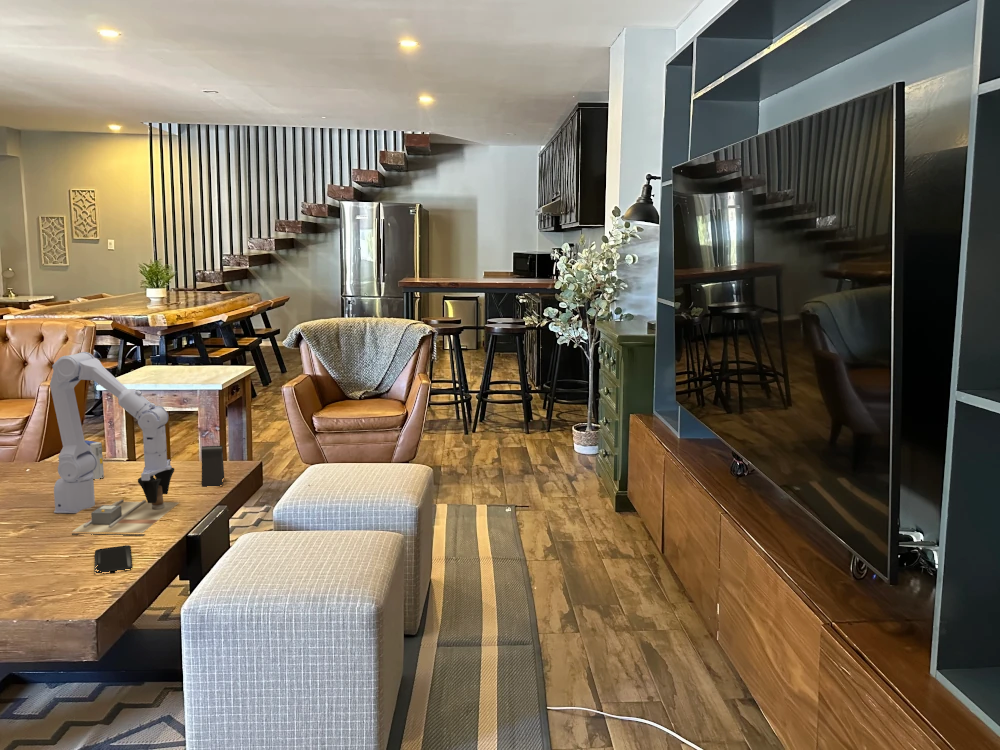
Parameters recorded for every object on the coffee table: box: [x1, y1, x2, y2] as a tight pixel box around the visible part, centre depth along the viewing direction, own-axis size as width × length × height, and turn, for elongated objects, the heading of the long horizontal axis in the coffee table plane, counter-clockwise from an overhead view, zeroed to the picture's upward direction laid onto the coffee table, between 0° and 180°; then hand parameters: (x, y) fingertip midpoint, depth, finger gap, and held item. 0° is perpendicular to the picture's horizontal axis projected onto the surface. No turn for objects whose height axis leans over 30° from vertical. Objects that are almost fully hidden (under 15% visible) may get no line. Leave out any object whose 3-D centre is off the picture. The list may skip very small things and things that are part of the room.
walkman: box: [84, 439, 105, 480], centre depth 244 cm, size 8×3×12 cm, turn 68°
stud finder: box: [90, 505, 122, 524], centre depth 204 cm, size 5×6×4 cm
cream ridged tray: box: [71, 499, 180, 537], centre depth 208 cm, size 18×24×2 cm
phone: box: [93, 544, 133, 573], centre depth 181 cm, size 8×1×15 cm
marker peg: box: [151, 486, 165, 510], centre depth 215 cm, size 3×3×6 cm
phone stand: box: [200, 445, 225, 488], centre depth 241 cm, size 9×6×12 cm, turn 14°
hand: (157, 498), depth 215 cm, fingers open, 7 cm apart
